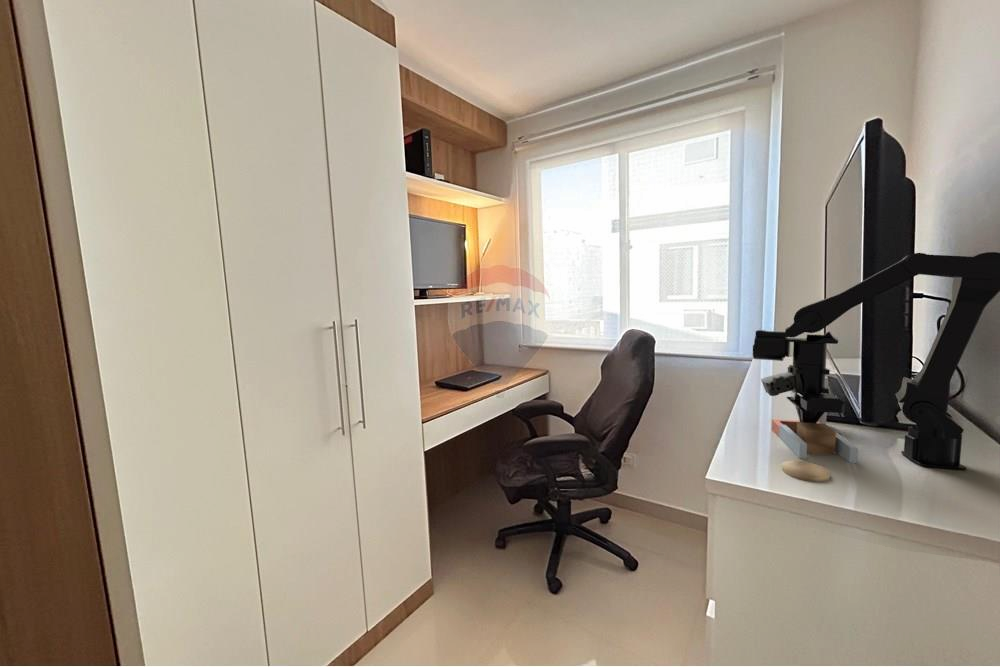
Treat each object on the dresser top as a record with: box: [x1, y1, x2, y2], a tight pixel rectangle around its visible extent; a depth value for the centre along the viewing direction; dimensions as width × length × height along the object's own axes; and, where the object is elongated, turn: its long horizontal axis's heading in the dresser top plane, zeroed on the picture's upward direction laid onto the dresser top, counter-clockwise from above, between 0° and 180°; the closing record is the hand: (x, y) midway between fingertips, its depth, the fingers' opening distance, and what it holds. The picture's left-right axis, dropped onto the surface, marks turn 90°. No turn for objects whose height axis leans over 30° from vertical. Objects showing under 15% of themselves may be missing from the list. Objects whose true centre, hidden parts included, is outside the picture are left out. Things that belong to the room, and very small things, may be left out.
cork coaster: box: [781, 460, 831, 483], centre depth 74 cm, size 7×7×1 cm
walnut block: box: [797, 422, 837, 456], centre depth 84 cm, size 5×5×5 cm
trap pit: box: [771, 418, 820, 438], centre depth 92 cm, size 9×6×2 cm, turn 71°
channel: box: [778, 425, 859, 464], centre depth 84 cm, size 9×12×3 cm
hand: (805, 432), depth 89 cm, fingers closed
